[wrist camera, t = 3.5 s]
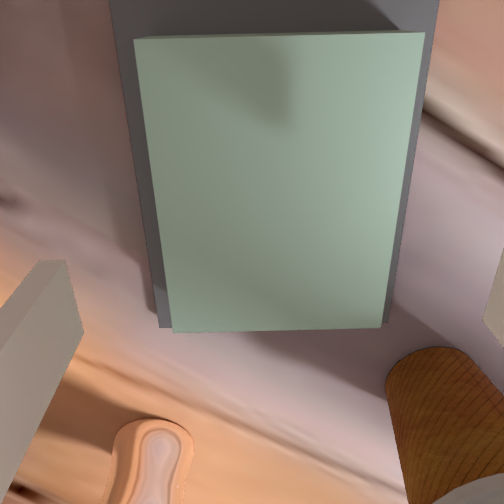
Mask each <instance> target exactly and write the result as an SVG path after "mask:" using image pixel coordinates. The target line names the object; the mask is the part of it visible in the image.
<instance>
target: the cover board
mask: <svg viewBox="0 0 504 504" xmlns="http://www.w3.org/2000/svg"><path fill="white" fill-rule="evenodd" d="M424 38H425V32H416V31H405V30H381V31H340V32H298V33H256V34H214V35H172V36H147V37H142V38H137V39H133V41H134V48H135V56H136V63H137V70H138V78H139V85H140V93H141V100H142V107H143V115H144V122H145V129H146V137H147V144H148V151H149V159H150V166H151V174H152V181H153V188H154V196H155V203H156V210H157V218H158V225H159V232H160V240H161V247H162V254H163V262H164V269H165V277H166V284H167V291H168V299H169V306H170V313H171V321H172V328H173V333H195V332H238V331H280V330H322V329H364V328H381V323H382V317H383V310H384V303H385V297H386V290H387V283H388V277H389V270H390V263H391V257H392V250H393V244H394V237H395V230H396V224H397V217H398V210H399V204H400V197H401V190H402V184H403V177H404V171H405V164H406V157H407V151H408V144H409V137H410V131H411V124H412V117H413V111H414V104H415V98H416V91H417V84H418V78H419V71H420V64H421V58H422V51H423V44H424Z"/></svg>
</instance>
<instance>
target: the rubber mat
mask: <svg viewBox="0 0 504 504" xmlns="http://www.w3.org/2000/svg"><path fill="white" fill-rule="evenodd" d="M109 3H110V10H111V16H112V23H113V29H114V36H115V42H116V49H117V55H118V62H119V68H120V75H121V81H122V88H123V94H124V101H125V107H126V114H127V120H128V127H129V133H130V140H131V146H132V153H133V159H134V166H135V172H136V179H137V185H138V192H139V198H140V205H141V212H142V218H143V225H144V231H145V238H146V244H147V251H148V257H149V264H150V270H151V277H152V283H153V290H154V296H155V303H156V309H157V316H158V322H159V328H172V321H171V313H170V306H169V299H168V291H167V284H166V277H165V269H164V262H163V254H162V247H161V240H160V232H159V225H158V218H157V210H156V203H155V196H154V188H153V181H152V174H151V166H150V159H149V151H148V144H147V137H146V129H145V122H144V115H143V107H142V100H141V93H140V85H139V78H138V70H137V63H136V56H135V48H134V41H133V39H137V38H142V37H147V36H172V35H214V34H256V33H298V32H340V31H381V30H405V31H416V32H425V38H424V44H423V51H422V58H421V64H420V71H419V78H418V84H417V91H416V98H415V104H414V111H413V117H412V124H411V131H410V137H409V144H408V151H407V157H406V164H405V171H404V177H403V184H402V190H401V197H400V204H399V210H398V217H397V224H396V230H395V237H394V244H393V250H392V257H391V263H390V270H389V277H388V283H387V290H386V297H385V303H384V310H383V317H382V323H388V320H389V314H390V307H391V301H392V295H393V289H394V282H395V276H396V270H397V264H398V257H399V251H400V245H401V239H402V232H403V226H404V220H405V213H406V207H407V201H408V195H409V188H410V182H411V176H412V170H413V163H414V157H415V151H416V145H417V138H418V132H419V126H420V119H421V113H422V107H423V101H424V94H425V88H426V82H427V76H428V69H429V63H430V57H431V51H432V44H433V38H434V32H435V25H436V19H437V13H438V7H439V0H109Z"/></svg>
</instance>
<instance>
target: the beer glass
mask: <svg viewBox="0 0 504 504" xmlns="http://www.w3.org/2000/svg"><path fill="white" fill-rule="evenodd" d="M193 455H194V442H193V440H192V438H191V436H190V435H189V434H188V432H187V431H185V430H184V429H183V428H182V427H180V426H178V425H177V424H175V423H172V422H169V421H166V420H162V419H141V420H136V421H133V422H131V423H129V424H127V425H125V426H124V427H122V428H121V429H120V430H119V431H118V433H117V435H116V436H115V439H114V443H113V450H112V460H111V469H110V474H109V478H108V482H107V485H106V488H105V490H104V493H103V496H102V498H101V500H100V502H99V504H183V492H184V486H185V482H186V478H187V475H188V472H189V469H190V466H191V462H192V459H193Z"/></svg>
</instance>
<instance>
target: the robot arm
mask: <svg viewBox="0 0 504 504" xmlns="http://www.w3.org/2000/svg"><path fill="white" fill-rule="evenodd" d="M482 321H483V322H484V323H485V325H486V326H487V327H488V329H489V330H490V331H491V332H492V334H493V335H494V336H495V338H496V339H497V340H498V341H499V343H500V344H501V345H502V347H503V348H504V249H503V252H502V255H501V259H500V262H499V266H498V269H497V272H496V276H495V279H494V283H493V286H492V289H491V293H490V296H489V300H488V303H487V306H486V310H485V313H484V316H483V320H482ZM83 334H84V330H83V326H82V322H81V319H80V315H79V311H78V307H77V304H76V300H75V296H74V292H73V288H72V285H71V281H70V277H69V273H68V270H67V266H66V262H65V260H45V261H38V263H37V264H36V265H35V266H34V268H33V269H32V270H31V271H30V273H29V274H28V275H27V276H26V278H25V279H24V280H23V281H22V283H21V284H20V285H19V286H18V287H17V289H16V290H15V291H14V292H13V294H12V295H11V296H10V297H9V299H8V300H7V301H6V302H5V304H4V305H3V306H2V307H1V309H0V504H1V503H2V501H3V499H4V497H5V494H6V492H7V490H8V488H9V486H10V484H11V482H12V480H13V478H14V476H15V474H16V472H17V470H18V468H19V466H20V464H21V462H22V460H23V457H24V455H25V453H26V451H27V449H28V447H29V445H30V443H31V441H32V439H33V437H34V435H35V433H36V431H37V429H38V427H39V425H40V423H41V420H42V418H43V416H44V414H45V412H46V410H47V408H48V406H49V404H50V402H51V400H52V398H53V396H54V394H55V392H56V390H57V388H58V386H59V383H60V381H61V379H62V377H63V375H64V373H65V371H66V369H67V367H68V365H69V363H70V361H71V359H72V357H73V355H74V353H75V351H76V349H77V346H78V344H79V342H80V340H81V338H82V336H83Z"/></svg>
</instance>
